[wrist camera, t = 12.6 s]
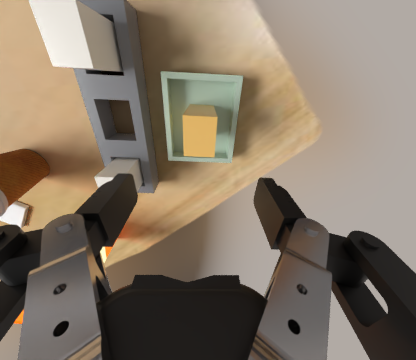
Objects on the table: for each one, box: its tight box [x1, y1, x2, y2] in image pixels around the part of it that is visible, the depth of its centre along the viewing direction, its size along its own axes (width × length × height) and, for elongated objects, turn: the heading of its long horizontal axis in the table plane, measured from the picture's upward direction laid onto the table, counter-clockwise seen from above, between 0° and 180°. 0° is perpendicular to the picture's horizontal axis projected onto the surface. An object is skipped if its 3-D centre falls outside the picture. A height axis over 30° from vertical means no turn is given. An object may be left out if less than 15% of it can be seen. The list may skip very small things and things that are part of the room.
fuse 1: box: [29, 0, 123, 72], centre depth 20 cm, size 5×4×10 cm
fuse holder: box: [73, 0, 159, 193], centre depth 27 cm, size 27×8×4 cm, turn 177°
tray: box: [161, 71, 243, 163], centre depth 28 cm, size 14×12×3 cm
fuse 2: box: [94, 157, 144, 192], centre depth 29 cm, size 5×4×10 cm
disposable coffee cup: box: [0, 149, 50, 217], centre depth 28 cm, size 10×10×12 cm
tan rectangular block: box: [183, 104, 218, 157], centre depth 24 cm, size 5×4×10 cm
